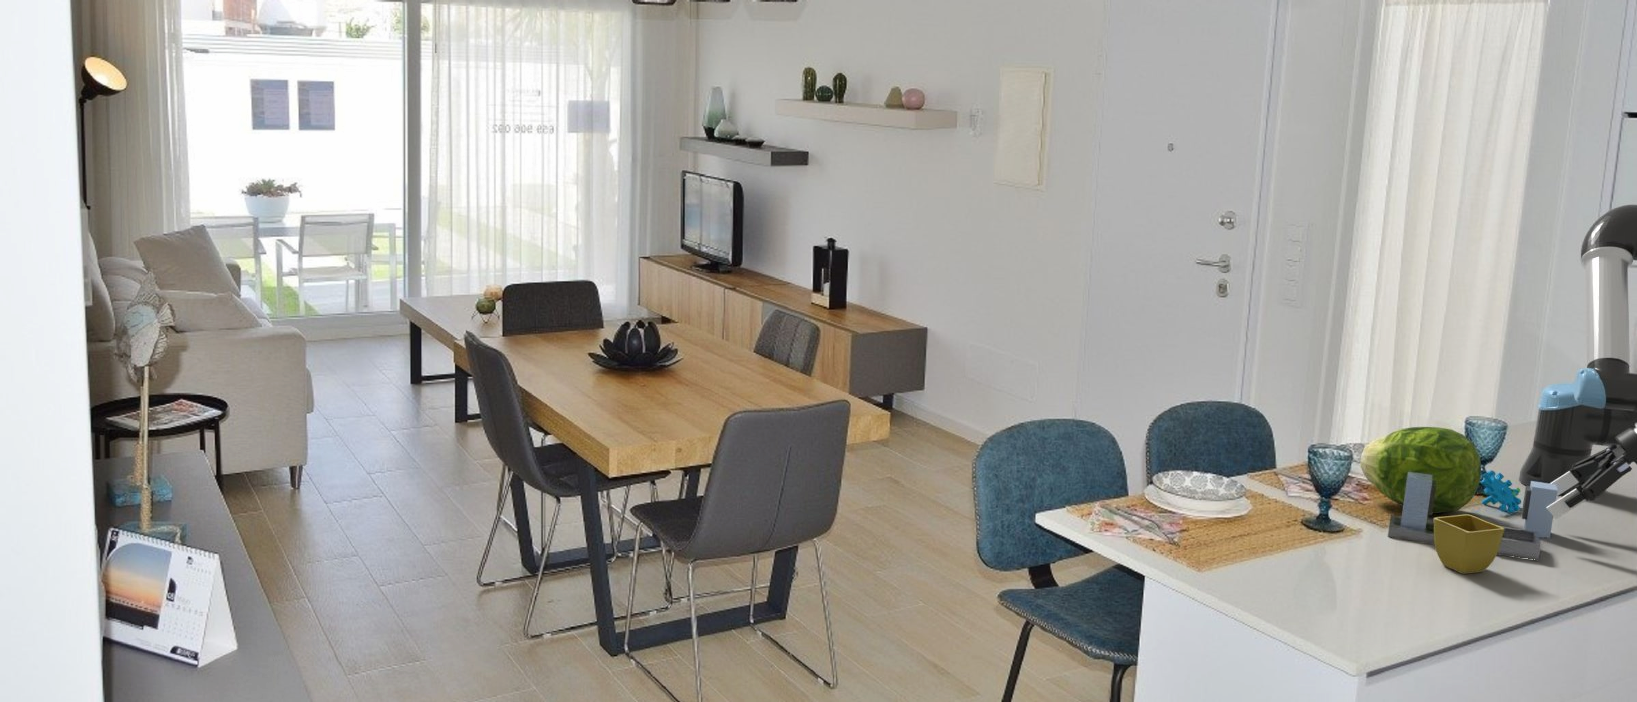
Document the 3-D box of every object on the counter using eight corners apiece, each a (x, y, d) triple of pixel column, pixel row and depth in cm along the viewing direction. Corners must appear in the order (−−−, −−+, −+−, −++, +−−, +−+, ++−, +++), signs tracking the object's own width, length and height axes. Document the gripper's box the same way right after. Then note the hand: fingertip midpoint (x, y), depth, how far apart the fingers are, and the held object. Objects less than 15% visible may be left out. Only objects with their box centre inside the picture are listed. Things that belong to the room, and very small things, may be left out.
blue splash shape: (1500, 510, 291) (1478, 467, 296) (1478, 523, 295) (1457, 481, 300) (1534, 511, 296) (1513, 470, 301) (1512, 524, 300) (1491, 483, 305)
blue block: (1519, 527, 285) (1526, 480, 283) (1548, 531, 283) (1555, 484, 281) (1520, 533, 281) (1527, 486, 279) (1549, 538, 279) (1557, 490, 277)
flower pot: (1426, 562, 262) (1432, 516, 260) (1462, 558, 265) (1468, 513, 263) (1462, 579, 254) (1469, 532, 252) (1499, 575, 257) (1506, 528, 255)
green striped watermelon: (1373, 486, 309) (1384, 406, 305) (1485, 512, 294) (1498, 428, 290) (1341, 504, 295) (1352, 421, 291) (1457, 532, 280) (1470, 445, 276)
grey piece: (1389, 524, 283) (1397, 467, 281) (1535, 547, 273) (1545, 488, 271) (1387, 536, 276) (1395, 478, 273) (1538, 561, 265) (1547, 500, 263)
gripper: (1670, 472, 259) (1567, 536, 267) (1650, 442, 281) (1555, 502, 290) (1641, 440, 260) (1540, 505, 268) (1624, 412, 282) (1530, 473, 291)
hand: (1548, 504), depth 279 cm, fingers open, 13 cm apart
